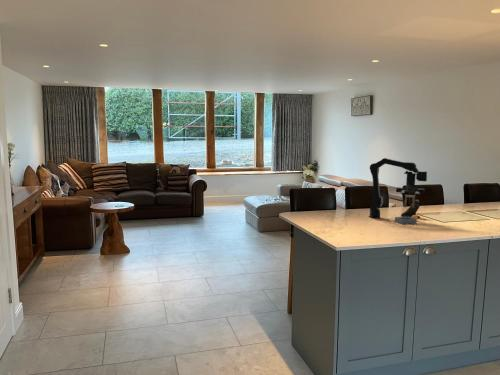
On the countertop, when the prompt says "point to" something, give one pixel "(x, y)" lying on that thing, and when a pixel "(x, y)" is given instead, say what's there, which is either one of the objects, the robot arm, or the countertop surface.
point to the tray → (405, 220)
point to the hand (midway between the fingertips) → (409, 202)
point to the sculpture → (411, 210)
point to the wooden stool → (412, 200)
